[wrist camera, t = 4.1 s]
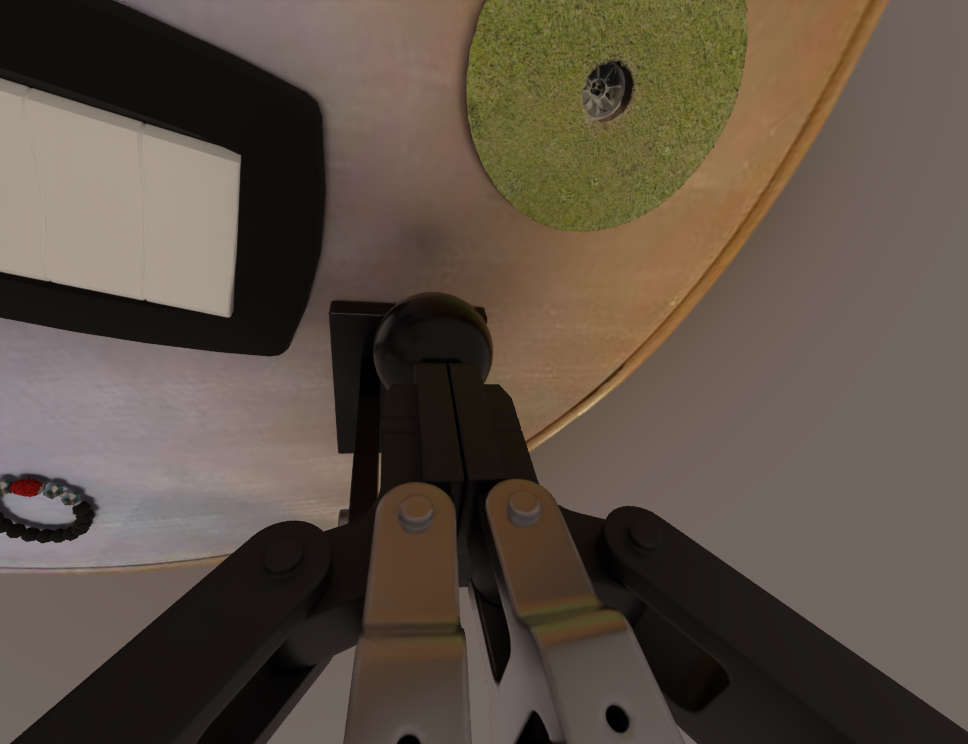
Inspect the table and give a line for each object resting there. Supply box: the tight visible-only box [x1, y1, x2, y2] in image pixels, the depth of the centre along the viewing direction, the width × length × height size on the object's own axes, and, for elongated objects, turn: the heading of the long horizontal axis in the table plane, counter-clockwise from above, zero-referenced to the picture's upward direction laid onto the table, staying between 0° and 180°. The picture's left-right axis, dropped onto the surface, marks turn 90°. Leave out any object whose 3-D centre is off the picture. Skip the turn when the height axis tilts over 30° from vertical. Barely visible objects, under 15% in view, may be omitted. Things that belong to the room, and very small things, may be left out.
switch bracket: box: [329, 301, 487, 587], centre depth 23 cm, size 10×8×12 cm
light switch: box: [0, 0, 325, 356], centre depth 18 cm, size 20×3×14 cm
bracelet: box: [0, 478, 94, 543], centre depth 28 cm, size 6×6×1 cm
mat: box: [466, 0, 748, 232], centre depth 19 cm, size 11×11×2 cm
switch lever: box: [373, 292, 493, 390], centre depth 16 cm, size 13×3×3 cm, turn 172°
